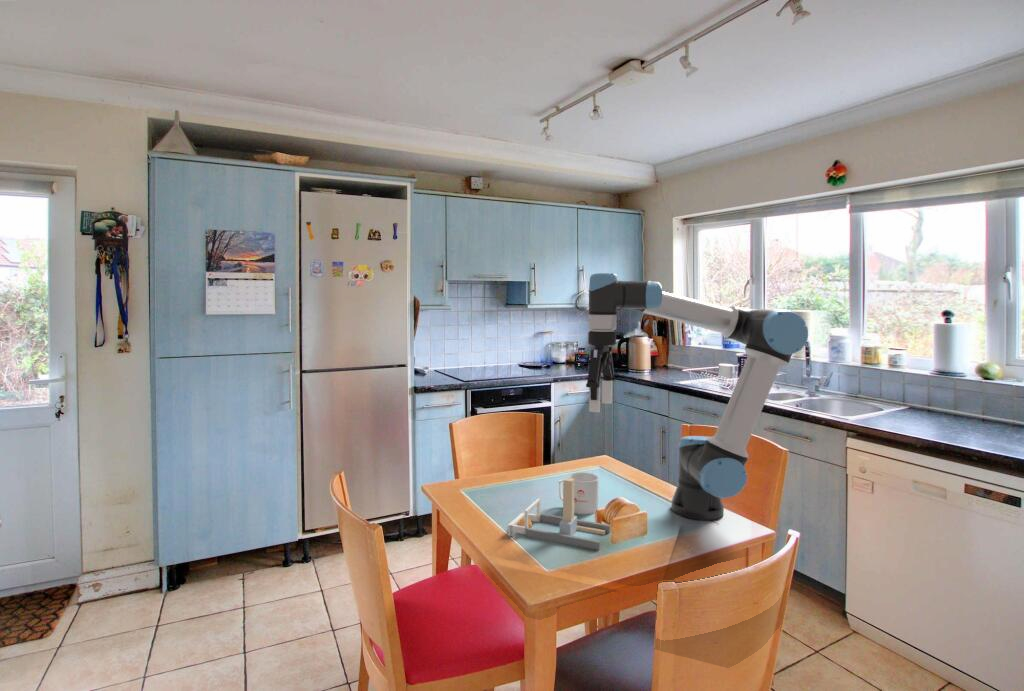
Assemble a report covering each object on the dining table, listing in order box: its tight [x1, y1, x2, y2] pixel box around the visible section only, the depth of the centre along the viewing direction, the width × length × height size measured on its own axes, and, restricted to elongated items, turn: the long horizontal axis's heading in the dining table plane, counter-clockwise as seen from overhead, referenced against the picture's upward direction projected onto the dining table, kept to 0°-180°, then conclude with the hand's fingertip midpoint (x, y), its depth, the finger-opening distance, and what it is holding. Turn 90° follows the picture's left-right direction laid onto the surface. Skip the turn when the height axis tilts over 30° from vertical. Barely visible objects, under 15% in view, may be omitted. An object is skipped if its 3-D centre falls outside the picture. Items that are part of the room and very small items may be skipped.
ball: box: [519, 518, 533, 528], centre depth 152 cm, size 4×4×4 cm
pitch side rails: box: [525, 512, 611, 551], centre depth 147 cm, size 20×12×3 cm, turn 66°
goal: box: [507, 498, 542, 537], centre depth 152 cm, size 6×10×8 cm, turn 156°
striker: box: [559, 477, 578, 536], centre depth 146 cm, size 3×6×15 cm, turn 156°
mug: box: [558, 472, 600, 515], centre depth 165 cm, size 12×9×11 cm
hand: (600, 407), depth 150 cm, fingers open, 13 cm apart
